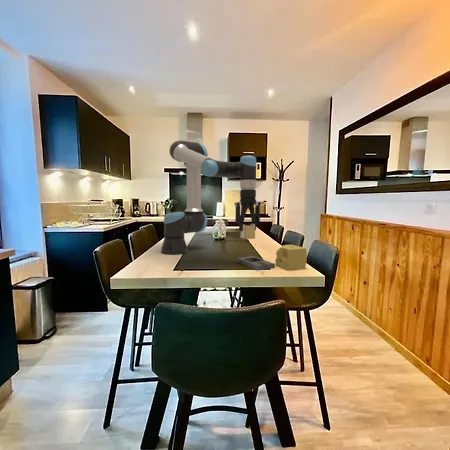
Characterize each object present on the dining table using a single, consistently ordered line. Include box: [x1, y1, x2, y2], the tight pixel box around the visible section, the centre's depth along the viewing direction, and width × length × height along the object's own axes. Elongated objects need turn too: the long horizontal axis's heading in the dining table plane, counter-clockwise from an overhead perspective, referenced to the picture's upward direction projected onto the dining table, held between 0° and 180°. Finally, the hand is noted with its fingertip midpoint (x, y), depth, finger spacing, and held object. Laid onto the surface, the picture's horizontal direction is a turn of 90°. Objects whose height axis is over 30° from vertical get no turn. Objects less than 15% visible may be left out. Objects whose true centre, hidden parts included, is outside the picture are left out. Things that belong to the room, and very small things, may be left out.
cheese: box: [274, 244, 308, 271], centre depth 132 cm, size 10×11×10 cm
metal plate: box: [236, 255, 276, 271], centre depth 136 cm, size 18×10×2 cm, turn 28°
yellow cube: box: [242, 224, 256, 240], centre depth 135 cm, size 5×5×6 cm
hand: (247, 237), depth 135 cm, fingers closed on yellow cube, 5 cm apart
